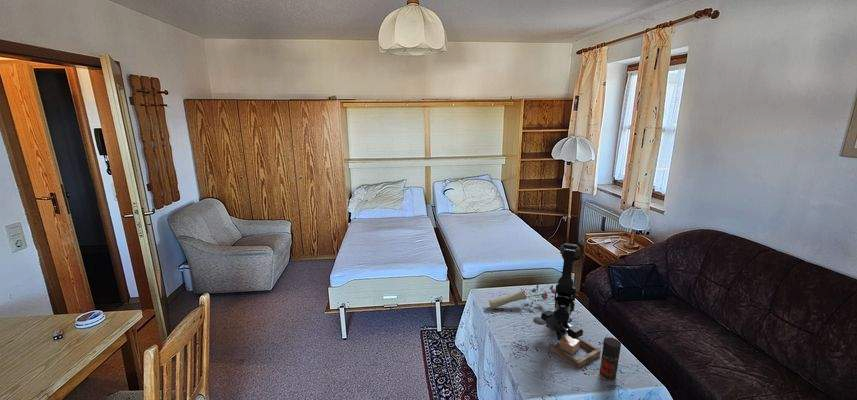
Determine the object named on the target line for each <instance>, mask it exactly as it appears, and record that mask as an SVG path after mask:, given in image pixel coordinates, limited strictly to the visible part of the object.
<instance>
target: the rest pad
mask: <svg viewBox="0 0 857 400" xmlns="http://www.w3.org/2000/svg"><path fill="white" fill-rule="evenodd" d="M533 322H534V323H535V324H537V325H546V322H545V321H544V320H543V319H541V316H540V317H539V316H536V317H534V318H533Z"/></svg>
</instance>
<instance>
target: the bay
mask: <svg viewBox="0 0 857 400" xmlns="http://www.w3.org/2000/svg"><path fill="white" fill-rule="evenodd" d="M576 339H577V340H579V341H580V345H579V346H582V347H583V348H584V349H586V350H588V351H589V353H587V354H585V355H584V356H581V357H579V358H578V359H576V358H574V357H573V356H571V354H570V353H569V354H568V352H567V351H565V350H563V349H561V348H559V346H556V345H555V344H553V343H551V344H550V351H552V352H553V353H555V354H556V355H558V356H560V358H562V359H564V360H565V361H567V362H568V363H570V364H571V365H573V366H574V367H575V368H576V369H579V368H581V367H583V366H584V365H586V364H588V363H590V362H591V361H593V360H595V359H597V358H598V357H600V356H601V354H602V350H601V349H599V348H598V347H596V346H594V345H592V344H591V343H590V342H588V341H586V340H584V338H583V339H582V338H581V337H578V338H576Z"/></svg>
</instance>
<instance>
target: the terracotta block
mask: <svg viewBox="0 0 857 400" xmlns="http://www.w3.org/2000/svg"><path fill="white" fill-rule="evenodd" d="M580 346H581V345H580V341H579V340H577V339H573V338H571V337H570V336H568V334H567V333H566V334H565V335H564V337H563V338H562V339H561V340H560V341H559V346H558V348H560V349H561V350H563V351H564V352H566V353H567V354H568V353H569V355H573V354H575V353H576V352H577V351H578V350H579V349H580Z"/></svg>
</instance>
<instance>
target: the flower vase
mask: <svg viewBox="0 0 857 400" xmlns="http://www.w3.org/2000/svg"><path fill="white" fill-rule="evenodd" d="M555 290H556V289H555V288H554V286H553V285H551V284H549V288H548V292H547V291H546V290H545V291H543V292H542V293H541V294H536V293H537V291H539V284H538V283H536V288H533V289H531V290H530V291H529V294H531V292H532V293H535V294H533V295H532V294H531V295H527V294H526V293H525V290H524V289H522V290H521V291H518V292H515V293H514V294H509V295H506V296H503V297H497V298H494V299H489V300H488V302H489V306H490V309H492V310H494V309H496V308H499V307H501V306H504V305H507V304H510V303H513V302H518V301H525V300H527V298H528V299H531V300H532V301H531V303H530V305H533V304H535V305H536V307H537V308H539V306H538V304H537V300H536V299H534V300H533V298H532V297H539V296H540V298H541V299H542V300H543V301H544V302H545V301H546V300H548V298H549V299H551V298H552V299H551V301H552V302H553V303H555V301H554V298H555ZM550 293H551V294H553V295H551V296H550V297H549V296H548V294H550Z"/></svg>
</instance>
